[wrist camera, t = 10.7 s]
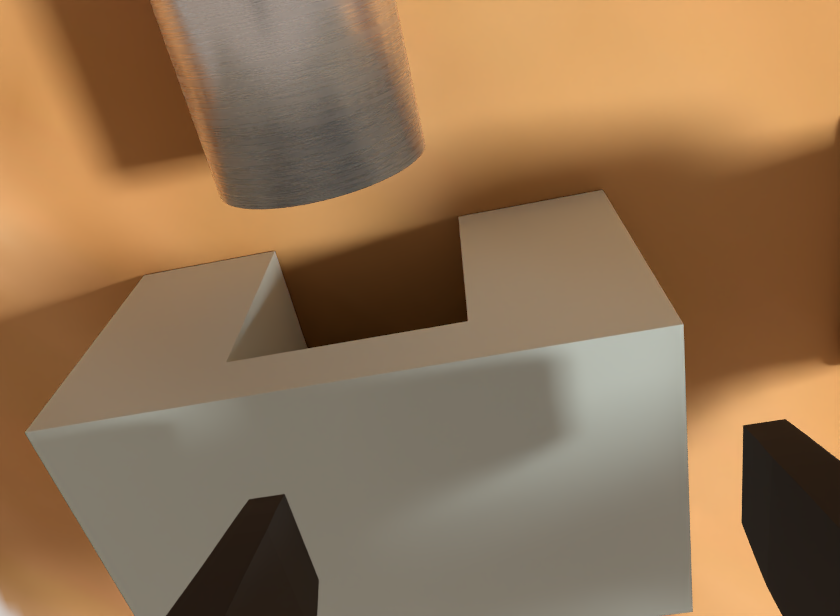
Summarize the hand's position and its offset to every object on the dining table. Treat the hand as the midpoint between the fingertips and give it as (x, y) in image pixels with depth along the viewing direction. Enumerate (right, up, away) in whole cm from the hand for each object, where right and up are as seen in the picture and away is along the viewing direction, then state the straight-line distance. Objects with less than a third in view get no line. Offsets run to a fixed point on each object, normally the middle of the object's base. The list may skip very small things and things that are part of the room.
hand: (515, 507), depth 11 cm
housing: (-2, +2, +10) cm, 11 cm away
